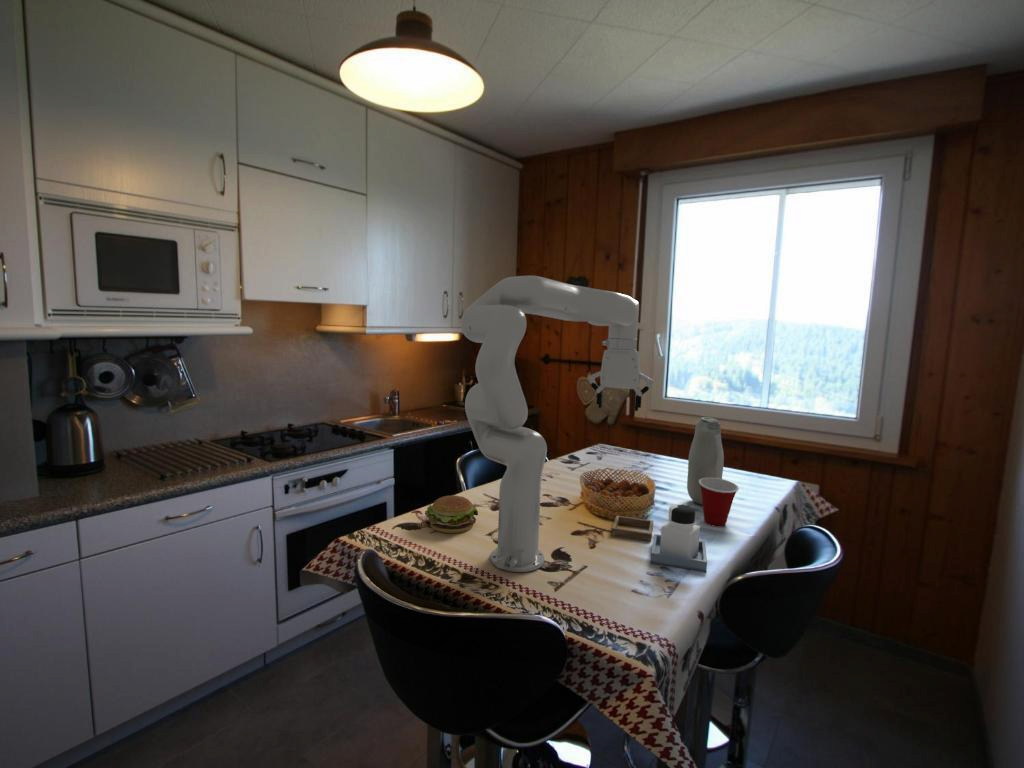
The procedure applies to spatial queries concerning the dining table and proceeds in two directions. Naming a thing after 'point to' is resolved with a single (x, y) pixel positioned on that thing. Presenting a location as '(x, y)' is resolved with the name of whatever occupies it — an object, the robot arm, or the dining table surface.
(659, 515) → the dining table surface
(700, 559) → the tray
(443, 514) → the food
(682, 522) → the medicine bottle
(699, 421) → the grey bottle
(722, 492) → the plastic cup
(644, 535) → the collar
